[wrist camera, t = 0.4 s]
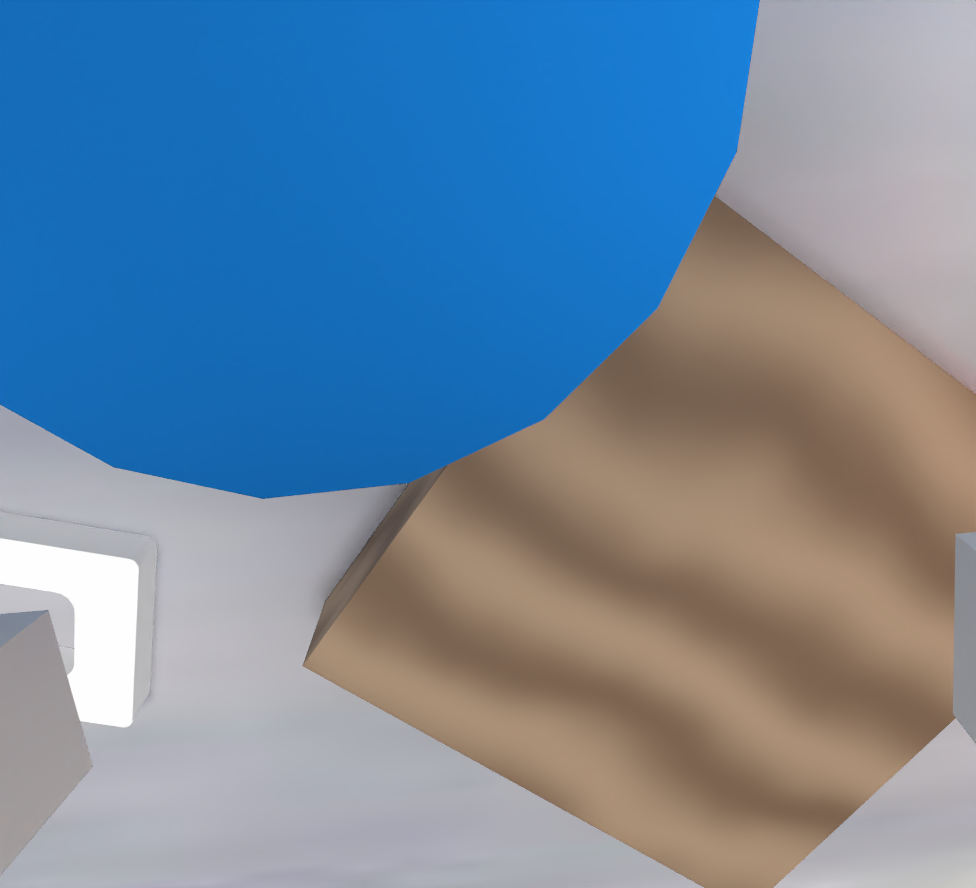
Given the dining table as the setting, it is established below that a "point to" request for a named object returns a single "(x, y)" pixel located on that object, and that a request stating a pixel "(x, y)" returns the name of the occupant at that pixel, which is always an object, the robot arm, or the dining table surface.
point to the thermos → (342, 220)
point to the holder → (92, 606)
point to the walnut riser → (689, 574)
